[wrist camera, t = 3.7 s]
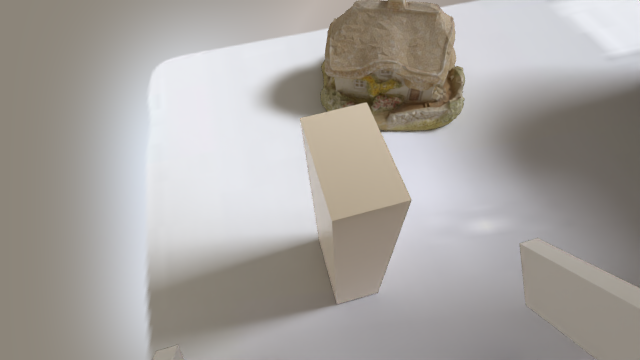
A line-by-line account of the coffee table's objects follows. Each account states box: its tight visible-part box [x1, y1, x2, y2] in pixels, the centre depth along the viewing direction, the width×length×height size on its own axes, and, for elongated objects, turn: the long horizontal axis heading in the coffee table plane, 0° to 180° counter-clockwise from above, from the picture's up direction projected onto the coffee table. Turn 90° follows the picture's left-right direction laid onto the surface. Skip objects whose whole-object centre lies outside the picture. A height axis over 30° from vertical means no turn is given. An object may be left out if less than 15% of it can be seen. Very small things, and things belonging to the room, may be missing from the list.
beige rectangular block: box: [300, 102, 411, 304], centre depth 20 cm, size 3×5×14 cm, turn 15°
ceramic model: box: [320, 0, 465, 131], centre depth 31 cm, size 14×11×10 cm
